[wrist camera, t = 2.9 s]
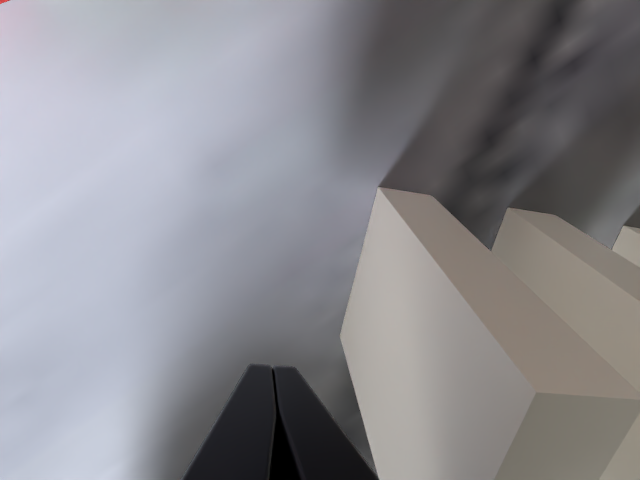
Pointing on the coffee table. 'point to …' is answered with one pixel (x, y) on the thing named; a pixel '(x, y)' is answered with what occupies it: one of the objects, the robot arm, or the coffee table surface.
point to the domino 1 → (470, 360)
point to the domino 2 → (582, 299)
